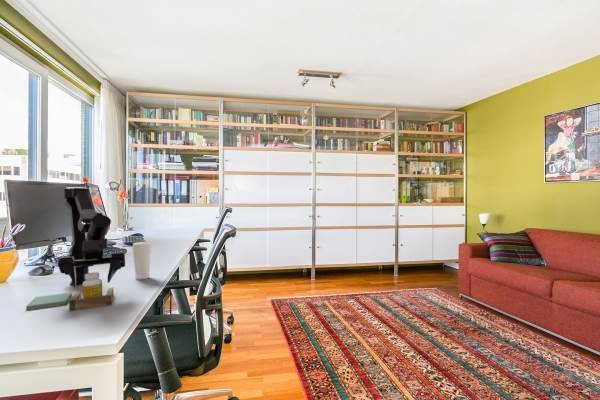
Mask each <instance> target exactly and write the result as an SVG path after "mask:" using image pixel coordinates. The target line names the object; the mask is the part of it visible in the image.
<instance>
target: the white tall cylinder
mask: <svg viewBox="0 0 600 400" xmlns="http://www.w3.org/2000/svg"><path fill="white" fill-rule="evenodd" d="M151 254H152V247H151V242H150V241H140V242H139V241H138V242H133V243H132V256H133V257H132V258H133V265H134V266H133V267H134V273H135V279H136V280H138V281H139V280H140V281H141V280H147V279H149V277H150V271H151V270H150V267H151Z"/></svg>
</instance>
